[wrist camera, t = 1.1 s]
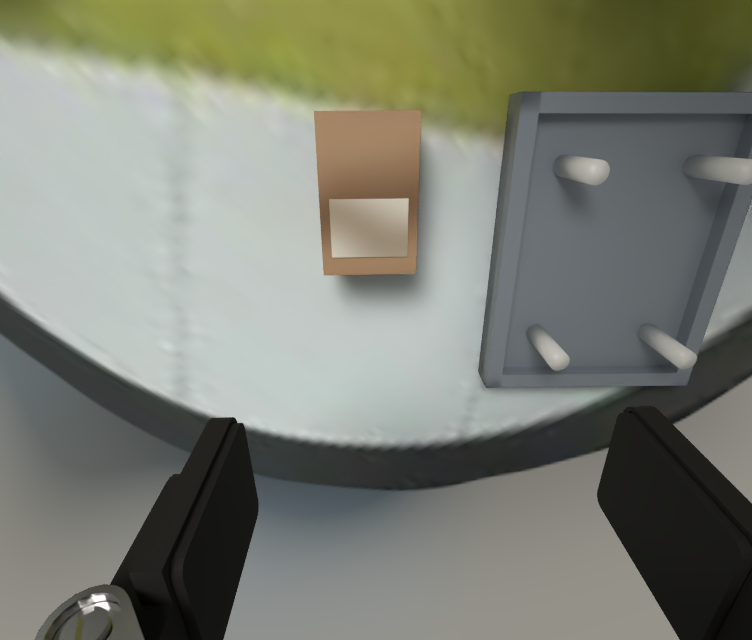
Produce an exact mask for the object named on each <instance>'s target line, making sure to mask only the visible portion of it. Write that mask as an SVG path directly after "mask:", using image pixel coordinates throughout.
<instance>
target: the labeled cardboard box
mask: <svg viewBox="0 0 752 640" xmlns="http://www.w3.org/2000/svg"><path fill="white" fill-rule="evenodd" d="M314 119H315V136H316V153H317V170H318V186H319V203H320V220H321V236H322V253H323V270H324V275H373V274H416V257H417V226H418V195H419V163H420V132H421V110H388V111H314Z"/></svg>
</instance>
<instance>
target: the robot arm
mask: <svg viewBox="0 0 752 640" xmlns="http://www.w3.org/2000/svg"><path fill="white" fill-rule="evenodd" d="M597 497H598V502H599V505H600V507H601V509H602V511H603V512H604V514H605V516H606V517H607V519H608V520H609V522H610V524H611V526H612V527H613V529H614V530H615V532H616V534H617V536H618V537H619V539H620V540H621V542H622V544H623V546H624V547H625V549H626V551H627V552H628V554H629V556H630V557H631V559H632V561H633V562H634V564H635V565H636V567H637V569H638V571H639V572H640V574H641V575H642V577H643V579H644V581H645V582H646V584H647V586H648V587H649V589H650V591H651V592H652V594H653V595H654V597H655V599H656V601H657V602H658V604H659V606H660V607H661V609H662V611H663V612H664V614H665V616H666V617H667V619H668V621H669V622H670V624H671V626H672V627H673V629H674V631H675V632H676V634H677V636H678V637H679V639H680V640H752V504H751V503H750V502H749V501H748V499H747V498H746V497H744V496H743V495H742V493H741V492H739V490H738V489H737V488H735V487H734V486H733V485H732V483H731V482H730V481H729V480H727V478H725V476H724V475H722V473H721V472H720V471H719V470H718V469H717V468H716V467H714V465H713V464H711V462H710V461H709V460H708V459H707V458H705V457H704V455H703V454H702V453H700V451H699V450H697V448H696V447H695V446H694V445H693V444H692V443H691V442H690V441H689V440H688V439H686V437H685V436H684V435H683V434H682V433H681V432H680V431H679V430H678V429H677V428H676V427H675V426H674V425H673V424H672V423H671V422H670V421H669V420H668V419H667V418H666V417H665V416H664V415H663V414H662V413H661V412H660V411H659V410H658V409H656V408H655V407H652V406H639V407H627V408H626V409H625V410H624V412H623V413H620V414H619V415H618V417H617V420H616V424H615V428H614V431H613V435H612V439H611V443H610V446H609V450H608V454H607V458H606V461H605V465H604V469H603V472H602V476H601V480H600V484H599V488H598V492H597ZM257 516H258V497H257V492H256V487H255V482H254V475H253V470H252V465H251V459H250V454H249V448H248V443H247V438H246V432H245V427H244V425H243V423H237V420H236V419H235V418H234V417H230V418H211V419H210V420H209V421H208V423H207V425H206V426H205V428H204V430H203V432H202V434H201V436H200V438H199V440H198V442H197V444H196V445H195V447H194V449H193V451H192V453H191V455H190V457H189V459H188V461H187V462H186V464H185V466H184V468H183V470H182V472H181V474H174V475H172V476H171V477H170V478H169V480H168V481H167V483H166V484H165V486H164V488H163V490H162V492H161V493H160V495H159V497H158V499H157V500H156V502H155V504H154V506H153V508H152V509H151V512H150V513H149V515H148V517H147V518H146V520H145V522H144V524H143V526H142V528H141V530H140V531H139V533H138V535H137V537H136V538H135V540H134V542H133V544H132V546H131V547H130V549H129V551H128V553H127V555H126V556H125V558H124V560H123V562H122V564H121V565H120V567H119V569H118V571H117V573H116V574H115V576H114V578H113V580H112V582H111V584H110V585H99V586H95V587H91V588H88V589H86V590H84V591H82V592H79V593H78V594H75V595H74V596H72V597H71V598H69V599H68V600H67V601H65V602H64V603H62V604H61V605H60V606H59V607H58V608H57V609H56V610H55V611H54V612H53V613H52V614H51V615H50V616H49V617H48V618H47V619H46V621H45V622H44V624H43V625H42V626H41V628H40V629H39V631H38V633H37V635H36V638H35V640H223V639H224V635H225V631H226V627H227V624H228V621H229V617H230V613H231V610H232V606H233V603H234V599H235V595H236V592H237V588H238V585H239V581H240V577H241V574H242V570H243V567H244V563H245V559H246V556H247V552H248V548H249V545H250V541H251V538H252V534H253V530H254V527H255V523H256V520H257Z"/></svg>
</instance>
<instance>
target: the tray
mask: <svg viewBox="0 0 752 640" xmlns="http://www.w3.org/2000/svg"><path fill="white" fill-rule="evenodd" d="M751 199H752V92H519V93H515V94H510V96H509V105H508V113H507V122H506V131H505V140H504V149H503V158H502V166H501V175H500V184H499V193H498V202H497V211H496V219H495V228H494V237H493V246H492V255H491V264H490V272H489V281H488V290H487V299H486V308H485V317H484V325H483V334H482V343H481V352H480V361H479V370H478V372H479V374H480V376H481V378H482V380H483V382H484V385H485V387H486V388H499V387H591V386H683V385H687V384H688V381H689V378H690V375H691V372H692V369H693V366H694V364H695V363H696V360H697V355H698V352H699V349H700V346H701V343H702V340H703V337H704V335H705V332H706V329H707V326H708V323H709V320H710V317H711V314H712V312H713V309H714V306H715V303H716V300H717V297H718V294H719V291H720V289H721V286H722V283H723V280H724V277H725V274H726V271H727V268H728V265H729V263H730V260H731V257H732V254H733V251H734V248H735V245H736V242H737V240H738V237H739V234H740V231H741V228H742V225H743V222H744V219H745V216H746V214H747V211H748V208H749V205H750V202H751Z"/></svg>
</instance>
